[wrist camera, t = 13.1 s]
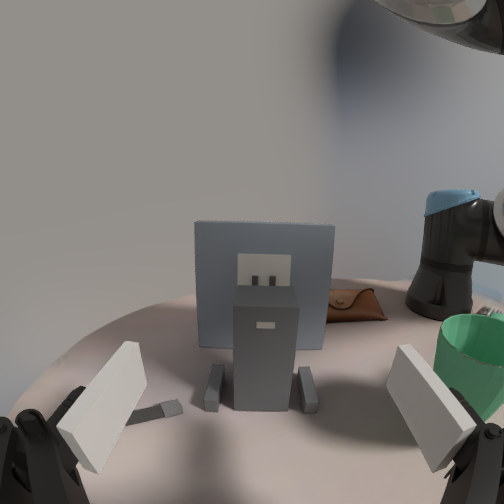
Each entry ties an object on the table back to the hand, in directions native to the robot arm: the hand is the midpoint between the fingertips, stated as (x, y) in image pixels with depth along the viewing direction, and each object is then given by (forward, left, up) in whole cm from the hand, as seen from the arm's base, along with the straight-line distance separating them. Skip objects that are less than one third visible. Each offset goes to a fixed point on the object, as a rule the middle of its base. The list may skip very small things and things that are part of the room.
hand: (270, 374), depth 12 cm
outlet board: (0, -15, -11) cm, 18 cm away
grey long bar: (+13, -4, -11) cm, 17 cm away
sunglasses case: (-13, -32, -12) cm, 36 cm away
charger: (0, -11, -11) cm, 15 cm away
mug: (-20, -4, -11) cm, 23 cm away
